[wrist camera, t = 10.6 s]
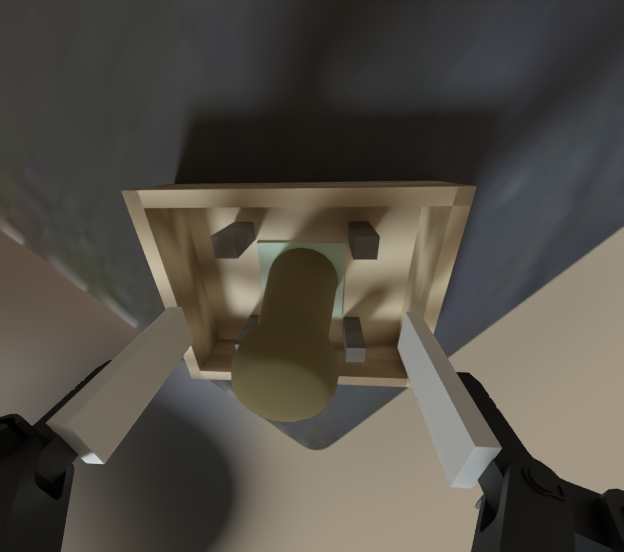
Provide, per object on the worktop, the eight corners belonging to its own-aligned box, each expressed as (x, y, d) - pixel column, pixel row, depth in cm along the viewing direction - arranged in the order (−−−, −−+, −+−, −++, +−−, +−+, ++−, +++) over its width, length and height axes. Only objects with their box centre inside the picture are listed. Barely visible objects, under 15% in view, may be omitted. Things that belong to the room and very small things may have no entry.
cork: (256, 259, 19) (180, 367, 9) (325, 238, 17) (326, 333, 8) (284, 315, 21) (248, 448, 11) (345, 300, 20) (366, 432, 10)
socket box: (173, 184, 17) (121, 190, 13) (435, 180, 16) (476, 186, 12) (216, 339, 25) (191, 378, 20) (400, 344, 23) (417, 387, 19)
